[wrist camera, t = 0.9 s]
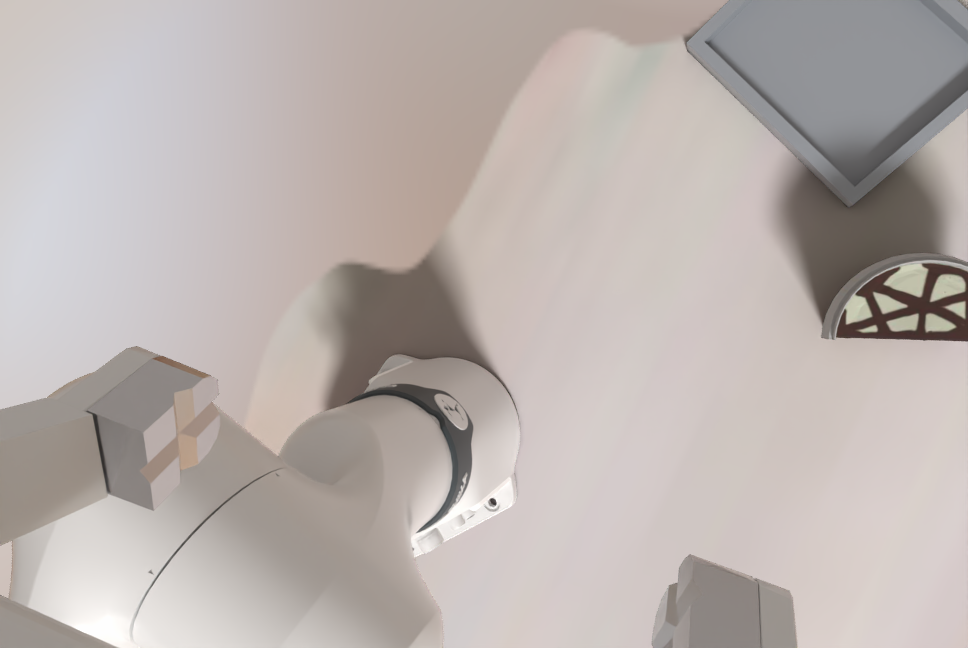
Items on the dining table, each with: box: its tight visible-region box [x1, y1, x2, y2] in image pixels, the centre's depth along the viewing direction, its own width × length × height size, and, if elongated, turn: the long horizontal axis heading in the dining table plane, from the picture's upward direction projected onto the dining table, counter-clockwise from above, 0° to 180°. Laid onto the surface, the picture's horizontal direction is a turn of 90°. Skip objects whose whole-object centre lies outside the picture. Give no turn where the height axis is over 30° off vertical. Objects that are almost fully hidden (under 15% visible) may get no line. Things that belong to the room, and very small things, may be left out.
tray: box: [687, 0, 968, 208], centre depth 55 cm, size 15×19×2 cm
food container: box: [821, 253, 968, 341], centre depth 51 cm, size 12×6×10 cm, turn 90°
